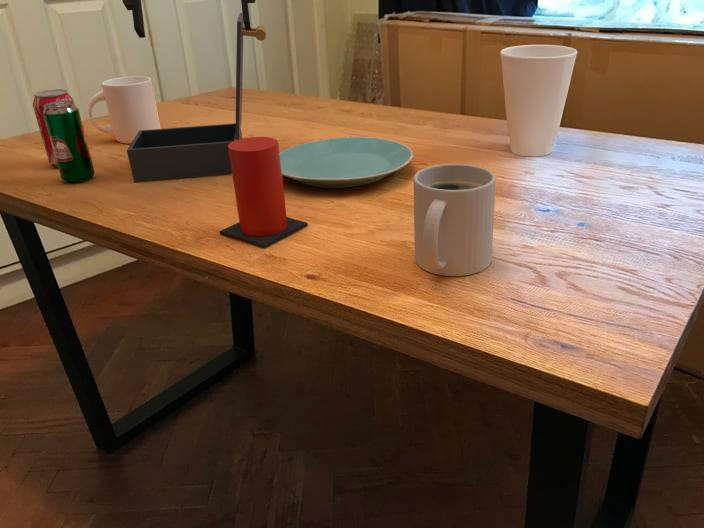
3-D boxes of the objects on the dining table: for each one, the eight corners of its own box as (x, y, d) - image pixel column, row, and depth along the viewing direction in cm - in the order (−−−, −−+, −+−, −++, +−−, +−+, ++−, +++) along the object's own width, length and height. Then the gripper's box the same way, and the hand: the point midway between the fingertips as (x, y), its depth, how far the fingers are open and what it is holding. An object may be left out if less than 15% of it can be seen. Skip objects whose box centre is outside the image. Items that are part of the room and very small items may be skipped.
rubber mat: (219, 234, 85) (219, 231, 84) (263, 214, 90) (263, 210, 90) (264, 248, 80) (264, 244, 80) (307, 225, 86) (307, 222, 86)
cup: (532, 136, 118) (539, 42, 110) (583, 151, 109) (594, 50, 101) (481, 148, 113) (484, 50, 105) (529, 166, 104) (537, 60, 96)
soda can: (55, 181, 106) (33, 105, 100) (83, 171, 109) (64, 98, 103) (74, 186, 103) (53, 109, 97) (102, 176, 107) (83, 101, 101)
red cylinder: (250, 240, 81) (237, 154, 76) (234, 224, 86) (221, 142, 81) (295, 229, 84) (285, 144, 79) (276, 214, 89) (267, 133, 83)
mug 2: (463, 236, 81) (465, 158, 77) (511, 266, 74) (516, 181, 69) (385, 257, 77) (382, 176, 72) (428, 291, 70) (428, 202, 65)
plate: (244, 175, 105) (242, 158, 103) (347, 143, 118) (346, 128, 117) (337, 210, 91) (336, 190, 89) (442, 169, 104) (442, 151, 103)
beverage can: (49, 161, 115) (29, 91, 109) (87, 155, 117) (69, 86, 112) (51, 171, 110) (30, 98, 104) (91, 164, 112) (72, 93, 107)
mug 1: (96, 137, 128) (82, 80, 122) (160, 129, 131) (149, 74, 126) (96, 149, 121) (80, 89, 115) (163, 140, 124) (152, 82, 119)
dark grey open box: (134, 182, 104) (126, 150, 101) (145, 160, 114) (139, 130, 111) (242, 173, 106) (237, 141, 103) (244, 152, 116) (240, 122, 113)
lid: (236, 21, 95) (266, 24, 96) (239, 12, 105) (266, 15, 106) (235, 139, 103) (262, 141, 104) (238, 120, 113) (263, 122, 114)
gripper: (272, -118, 91) (291, 35, 91) (84, -111, 88) (102, 47, 87) (270, -155, 83) (290, 11, 83) (64, -149, 80) (84, 24, 80)
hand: (194, 30), depth 85 cm, fingers open, 13 cm apart
